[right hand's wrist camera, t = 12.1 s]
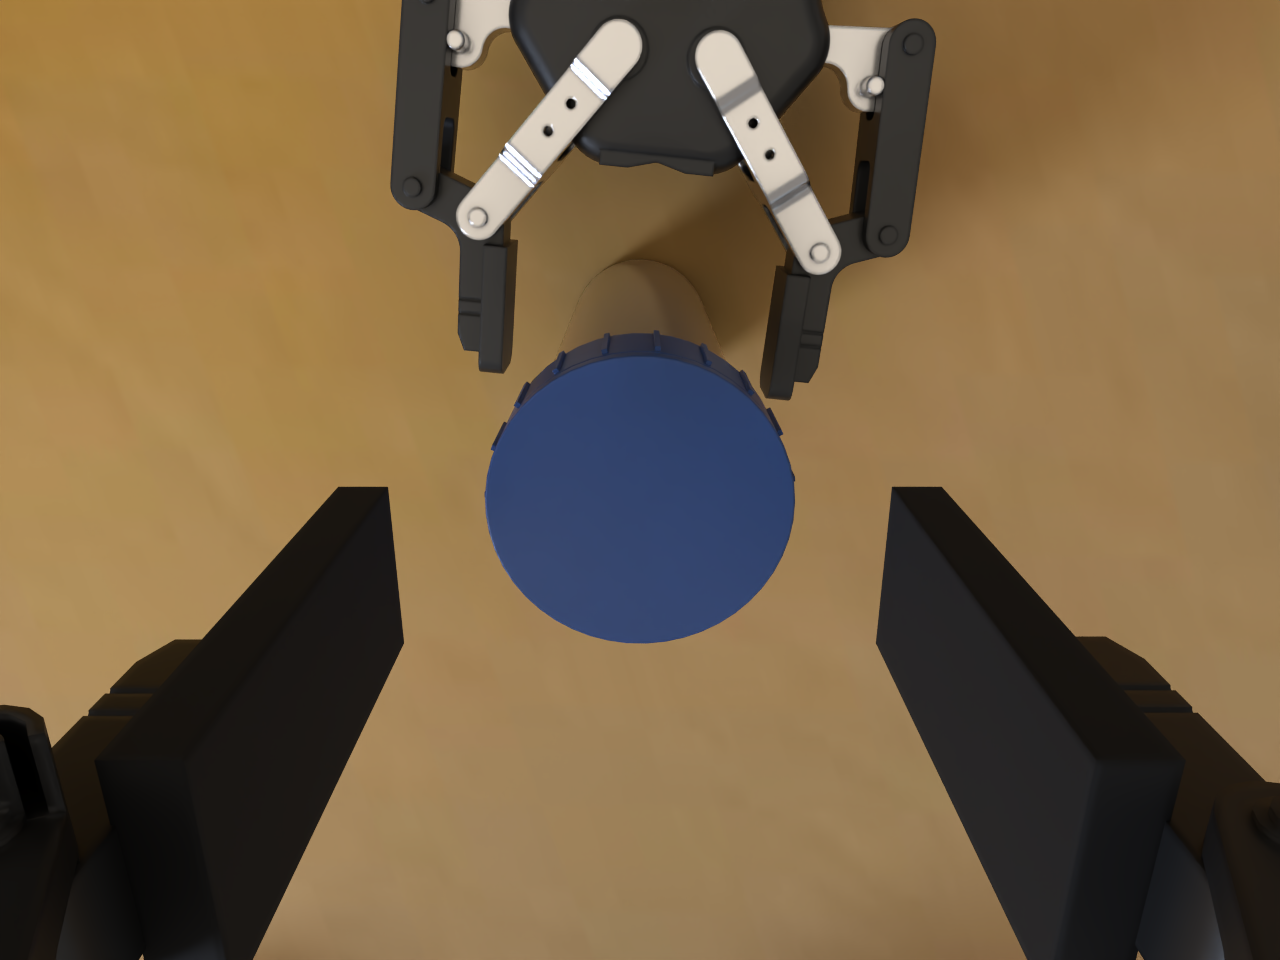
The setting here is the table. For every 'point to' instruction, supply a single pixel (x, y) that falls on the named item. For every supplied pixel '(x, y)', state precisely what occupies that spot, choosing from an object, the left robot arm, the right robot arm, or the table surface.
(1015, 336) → the table surface
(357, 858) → the table surface
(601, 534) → the lid
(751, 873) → the table surface
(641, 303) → the jar
